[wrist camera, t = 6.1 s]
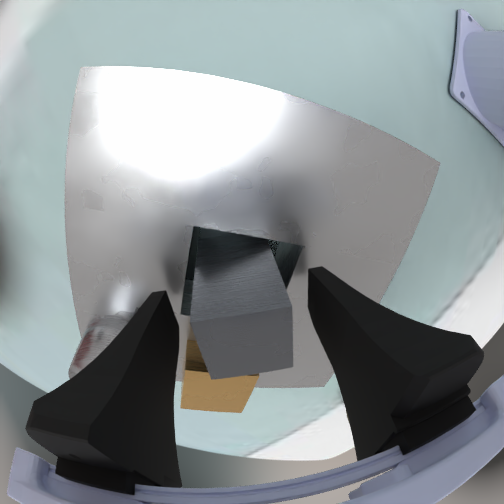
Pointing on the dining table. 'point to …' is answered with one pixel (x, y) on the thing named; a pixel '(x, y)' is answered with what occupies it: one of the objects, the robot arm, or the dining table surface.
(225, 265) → the metal block
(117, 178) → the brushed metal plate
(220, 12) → the dining table surface
